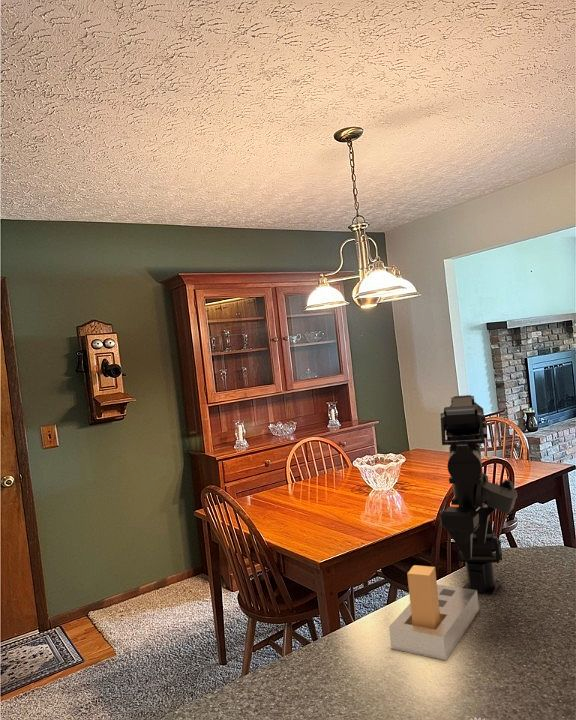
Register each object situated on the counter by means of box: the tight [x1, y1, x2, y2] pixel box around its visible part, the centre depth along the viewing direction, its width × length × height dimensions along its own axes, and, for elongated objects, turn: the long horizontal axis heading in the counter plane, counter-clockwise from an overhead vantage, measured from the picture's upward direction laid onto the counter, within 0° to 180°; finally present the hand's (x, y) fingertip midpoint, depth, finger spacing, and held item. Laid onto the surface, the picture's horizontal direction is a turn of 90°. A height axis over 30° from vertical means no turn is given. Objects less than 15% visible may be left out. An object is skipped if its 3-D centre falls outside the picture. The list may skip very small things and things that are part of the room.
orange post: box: [407, 564, 441, 630], centre depth 103 cm, size 4×4×13 cm
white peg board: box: [388, 584, 480, 661], centre depth 107 cm, size 20×10×4 cm, turn 146°
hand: (475, 551), depth 110 cm, fingers open, 9 cm apart
